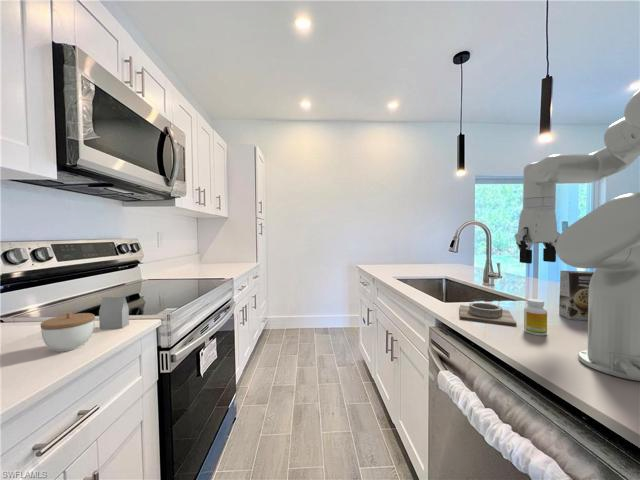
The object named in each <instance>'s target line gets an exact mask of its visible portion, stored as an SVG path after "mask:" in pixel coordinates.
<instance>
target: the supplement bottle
mask: <svg viewBox="0 0 640 480" xmlns="http://www.w3.org/2000/svg"><path fill="white" fill-rule="evenodd" d="M526 304H527V305H526V306H524V310H523V313H524V314H523V330H524V332H525V333H528V334H530V335H534V336H547V334H548V310H547V308H545V301H544V300H542V299H536V298H528V299H526Z"/></svg>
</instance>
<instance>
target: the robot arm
mask: <svg viewBox="0 0 640 480" xmlns="http://www.w3.org/2000/svg"><path fill="white" fill-rule="evenodd" d="M623 116H624V117H623V118H621V119H619V120H617V121H615V122H614V123H612V124H611V125H609V126H608V127H607V128H606V130H605V131H604V132H605V133H604V135H603V142H604V146H605V147H603V148H601V149H598V150H597V151H594V152H591V153H588V154H587V153H586V154H585V153H584V154H582V153H580V154H577V153H575V154H574V153H571V154H569V153H568V154H562V153H560V154H558V153H557V154H552V155H548V156H546V157H544V158H542V159H540V160H539V161H535V162H531V163H528V164H526V165H525V167H524V168H523V180H522V181H523V184H522V185H523V186H522V187H523V189H522V209H521V211H520V214H519V219H518V227H517V228H518V230H517V232H516V233H515V234H514V239H515V244H516V245H517V249H518V250H519V263H522V264H529V265H530V264H532V263H533V249H532V247H533V245H534V244H542V245H543V246H544V248H543V250H542V257H543V258H542V262H549V263H556V262H557V258H558V259H559V260H560V261H562V263H564V264H566V265H567V266H570V267H574V268H576V269H577V268H579V269H595V270H594V271H593V272H594V273H593V275H592V277H591V280H590V283H589V300H588V320H587V349H584V350H580V351H579V352H578V353H577V355H578V356H577V358H578V360H579V361H580V362H581V363H582V364H583V365H586V366H588V367H589V368H592V369H594V370H596V371H598V372H602V373H604V374H607V375H610V376H612V377H613V376H614V377H617V378H622V379H625V380H629V381H638V382H640V191H638V192H632V193H631V192H630V193H626V194H623V195H619V196H615V197H613V198H612V199H609V200H608V201H606V202H603V203H602V204H601V205H600V206H598V207H596V208H594V209H593V210H591V211H590V212H588V213H587V214H585V215H583V216H582V217H581V218H579V219H578V220H577V221H575V222H573V223H572V224H571V225H569V226H568V227H566V228H565V229H564V230H563V231H562V232H561V233H559V231H558V227H557V226H558V222H557V215H556V214H557V213H556V207H557V206H556V201H557V197H556V196H557V184H587V183H593V182H596V181H598V180H599V181H600V180H602V179H603V178H607V177H609V176H612V175H615V174H617V173H619V172H621V171H624V170H625V169H627V168H629V166H631V165H632V164H633V163H634V162H635V161H636V159H637V158H638V157H639V156H640V89H639V90H637V91H636V92H635V93H634V94H633V95H632V96H631V97H630V98H629V100H628V102H627V104H626V105H625V108H624V112H623Z"/></svg>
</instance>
